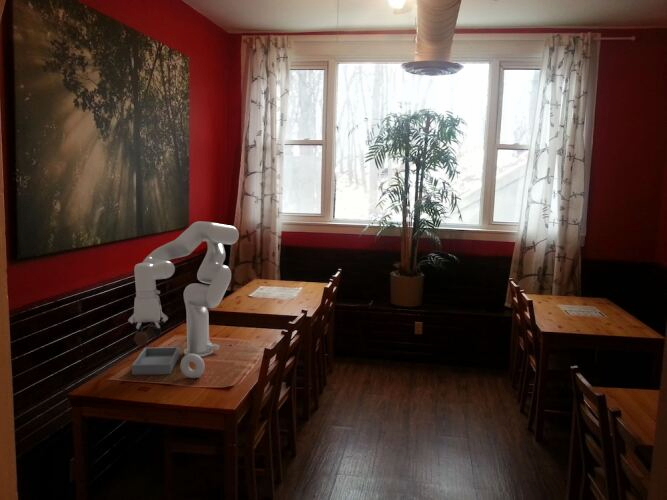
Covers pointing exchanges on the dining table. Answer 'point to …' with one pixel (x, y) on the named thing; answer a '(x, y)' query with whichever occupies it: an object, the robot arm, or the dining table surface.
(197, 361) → the donut
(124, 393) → the dining table surface
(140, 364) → the bin
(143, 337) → the bolt
